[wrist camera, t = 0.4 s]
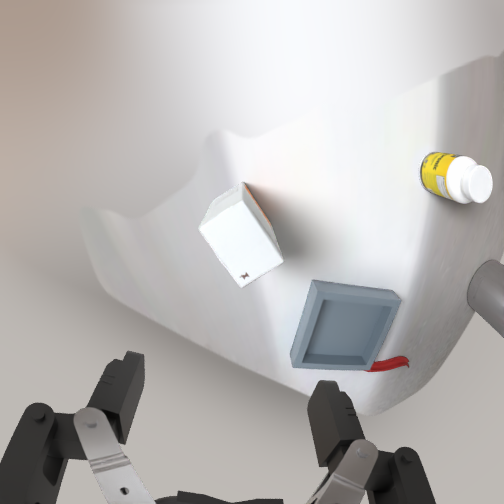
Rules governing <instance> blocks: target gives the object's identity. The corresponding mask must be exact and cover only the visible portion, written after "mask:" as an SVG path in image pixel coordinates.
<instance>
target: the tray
mask: <svg viewBox="0 0 504 504" xmlns="http://www.w3.org/2000/svg"><path fill="white" fill-rule="evenodd" d="M400 303H401V300H400V299H399V298H398V296H397V295H396V294H395V293H394V292H393V291H392V290H386V289H378V288H370V287H363V286H355V285H347V284H340V283H333V282H325V281H318V280H312V282H311V286H310V289H309V293H308V296H307V300H306V303H305V307H304V310H303V313H302V317H301V320H300V323H299V326H298V330H297V333H296V336H295V339H294V342H293V346H292V349H291V352H290V357H291V362H292V367H293V368H305V369H325V370H370V368H371V366H372V364H373V362H374V360H375V358H376V356H377V354H378V352H379V350H380V348H381V346H382V344H383V342H384V340H385V337H386V335H387V333H388V331H389V329H390V326H391V324H392V322H393V319H394V317H395V315H396V312H397V310H398V308H399V305H400Z"/></svg>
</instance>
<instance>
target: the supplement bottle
mask: <svg viewBox="0 0 504 504" xmlns="http://www.w3.org/2000/svg"><path fill="white" fill-rule="evenodd" d="M418 173H419V179H420V182H421V184H422V186H423V187H424V188H425V189H426V190H427V191H429V192H431V193H434V194H437V195H439V196H442V197H445V198H448V199H451V200H453V201H456V202H459V203H462V204H466V203H470V202H472V201H474V202H477V203H483V202H485V201H486V200H487V199H488V198H489V196H490V194H491V191H492V176H491V174H490V172H489V170H488V169H487V168H486V167H484V166H481V165H477V163H476V162H475V161H474V160H473V159H471V158H469V157H466V156H461V155H454V154H447V153H440V152H431V153H428V154H426V155H425V156H424V157H423V158H422V160H421V162H420V164H419V170H418Z"/></svg>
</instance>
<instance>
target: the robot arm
mask: <svg viewBox="0 0 504 504" xmlns="http://www.w3.org/2000/svg"><path fill="white" fill-rule="evenodd" d="M468 303H469V305H470V306H471V307H472V308H473V309H474V310H475V311H476V312H477V313H478V314H479V315H480V316H482V317H483V319H485V320H486V321H487V322H488V323H489V324H490V325H491V326H492V327H493V328H494V329H495V330H496V331H497V332H498V333H499V334H500V335H501V336H502V337H503V338H504V265H503V264H501V263H499V262H498V261H496V260H490V261H488V262H486V263H484V264H483V265H482V266H481V267H480V268H479V269H478V270H477V272H476V273H475V275H474V277H473V278H472V281H471V283H470V286H469V289H468ZM144 379H145V369H144V354H139V353H136V352H132V351H127V353H126V355H125V357H124V359H123V361H122V360H118V359H114V360H113V361H112V362H110V363H109V364H108V365H107V366H106V368H105V370H104V372H103V375H102V376H101V378H100V381H99V382H98V384H97V386H96V388H95V390H94V392H93V395H92V396H91V399H90V401H89V403H88V405H87V406H86V407H85V408H82V409H80V410H79V411H78V412H76V413H74V414H64V413H54V412H53V410H52V408H51V407H49V406H48V405H46V404H44V403H33V404H31V405H29V406H28V407H27V408H26V410H25V412H24V413H23V415H22V417H21V419H20V421H19V423H18V426H17V427H16V429H15V432H14V434H13V436H12V438H11V440H10V442H9V445H8V447H7V449H6V451H5V453H4V456H3V458H2V460H1V463H0V504H56V500H57V496H58V493H59V489H60V486H61V482H62V479H63V476H64V472H65V469H66V466H67V462H68V459H79V460H88V461H89V464H90V466H91V468H92V471H93V473H94V475H95V478H96V480H97V482H98V484H99V486H100V488H101V490H102V492H103V494H104V496H105V498H106V500H107V502H108V504H283V499H254V500H248V501H242V502H235V503H230V502H226V501H223V500H220V499H216V498H213V497H210V496H207V495H204V494H196V493H190V492H183V491H178V494H177V496H169V497H164V498H159V499H157V500H153V498H152V497H151V495H150V493H149V492H148V491H147V489H146V487H145V486H144V484H143V482H142V481H141V479H140V477H139V476H138V474H137V472H136V470H135V469H134V467H133V465H132V464H131V462H130V460H129V458H128V457H127V456H125V454H124V452H123V451H122V449H121V447H120V445H119V443H120V444H124V445H125V444H126V441H127V437H128V434H129V431H130V428H131V425H132V421H133V418H134V415H135V412H136V409H137V406H138V403H139V400H140V397H141V394H142V391H143V387H144ZM307 411H308V417H309V421H310V426H311V431H312V435H313V440H314V444H315V449H316V454H317V458H318V463H319V467H328V470H329V471H328V473H327V474H326V475H325V477H324V478H323V480H322V481H321V483H320V484H319V486H318V487H317V489H316V491H315V492H314V493H313V495H312V496H311V498H310V499H309V500H308V502H307V503H306V504H360V502H361V500H362V498H363V496H364V494H365V490H366V491H367V495H368V500H369V504H436V502H435V499H434V496H433V494H432V491H431V488H430V485H429V482H428V480H427V477H426V474H425V471H424V468H423V466H422V463H421V461H420V458H419V456H418V454H417V452H416V451H414V450H413V449H411V448H409V447H401V448H399V449H398V450H397V451H396V452H395V453H391V452H385V451H380V450H378V449H377V447H376V446H375V445H374V444H373V443H371V442H370V441H368V440H366V439H365V436H364V434H363V431H362V428H361V425H360V422H359V420H358V417H357V416H356V412H355V409H354V406H353V403H352V401H351V399H350V398H349V396H348V395H347V394H346V393H345V392H340V390H339V387H338V385H337V382H336V381H325V380H320V381H319V382H318V384H317V386H316V388H315V390H314V392H313V394H312V396H311V398H310V400H309V403H308V409H307Z"/></svg>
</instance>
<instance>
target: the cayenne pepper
mask: <svg viewBox="0 0 504 504" xmlns="http://www.w3.org/2000/svg"><path fill="white" fill-rule="evenodd" d="M408 362H409V360H408V359H407V358H405V357H402V356H398V357H394V358H391V359H388V360H384V361H378V362H373V364H372V366H371V368H370V370H364V371H367V372H379V371H387V370H391V369H394V368H398V367H401V366H404V365H407V366H408ZM408 367H409V366H408Z"/></svg>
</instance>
